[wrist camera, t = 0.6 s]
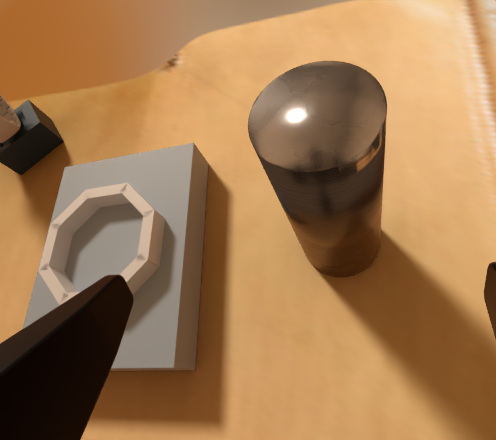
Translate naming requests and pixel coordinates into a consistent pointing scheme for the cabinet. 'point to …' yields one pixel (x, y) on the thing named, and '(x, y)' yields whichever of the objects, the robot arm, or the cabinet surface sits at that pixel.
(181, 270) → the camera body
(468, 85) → the cabinet surface
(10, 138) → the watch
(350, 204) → the lens
